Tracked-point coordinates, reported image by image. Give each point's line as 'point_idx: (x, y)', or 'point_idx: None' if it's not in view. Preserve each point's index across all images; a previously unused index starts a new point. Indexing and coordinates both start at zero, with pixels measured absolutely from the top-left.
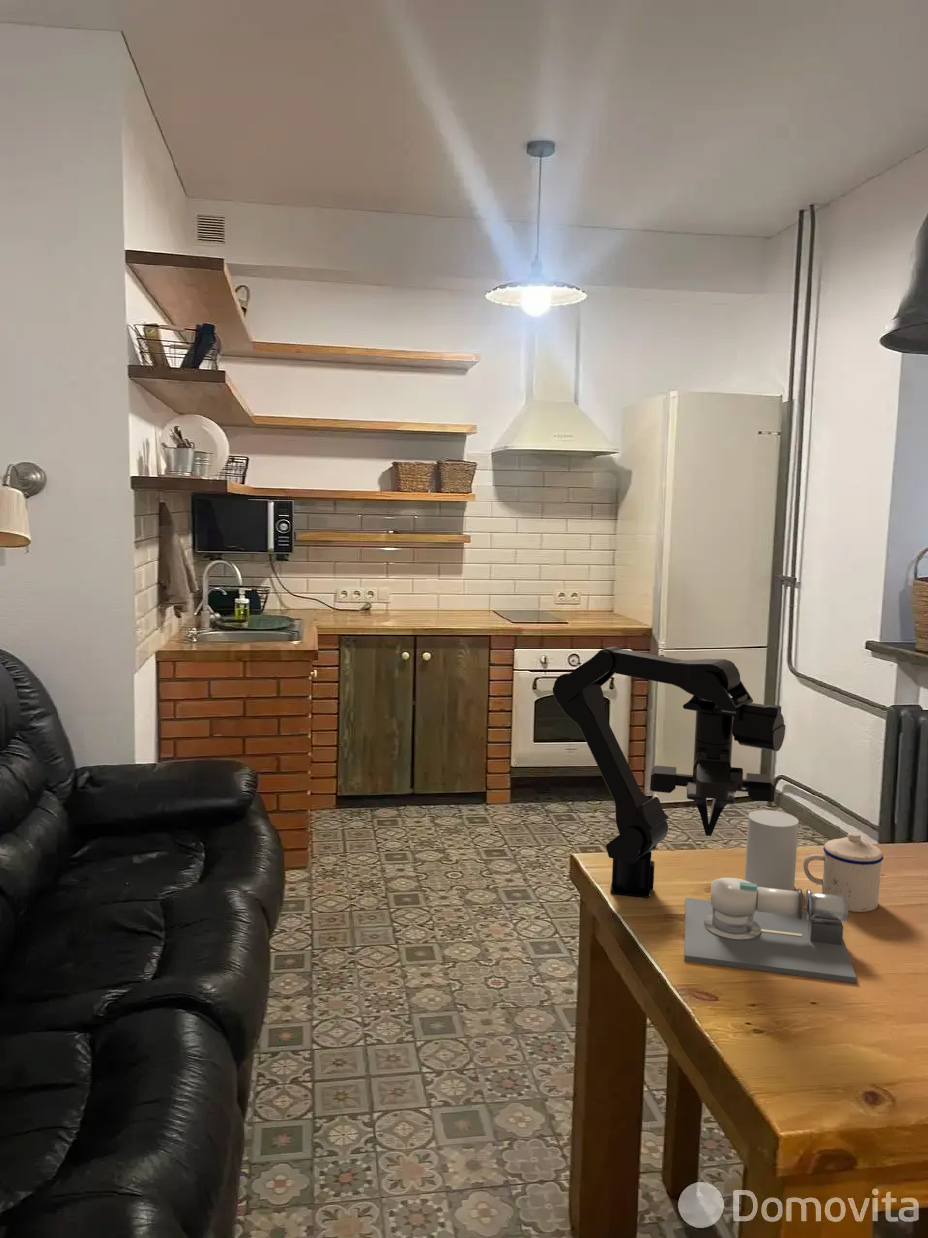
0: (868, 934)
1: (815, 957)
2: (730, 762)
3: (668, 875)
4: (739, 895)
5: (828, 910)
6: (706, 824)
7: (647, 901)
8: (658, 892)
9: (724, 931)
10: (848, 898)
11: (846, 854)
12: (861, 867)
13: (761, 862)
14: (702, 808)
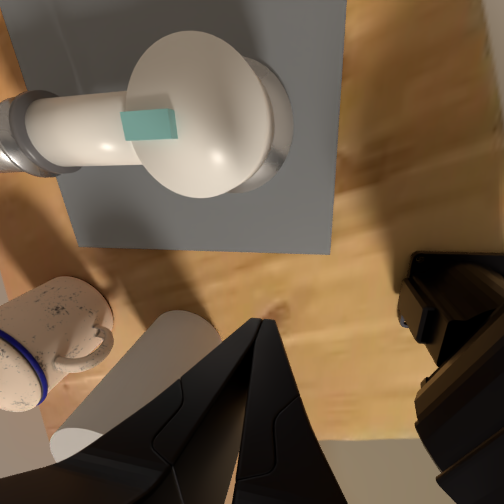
0: (36, 205)
1: (66, 36)
2: None
3: (355, 357)
4: (168, 41)
5: None
6: (264, 355)
7: (417, 236)
8: (384, 284)
9: None
10: (57, 286)
11: None
12: None
13: (171, 354)
14: (283, 472)
